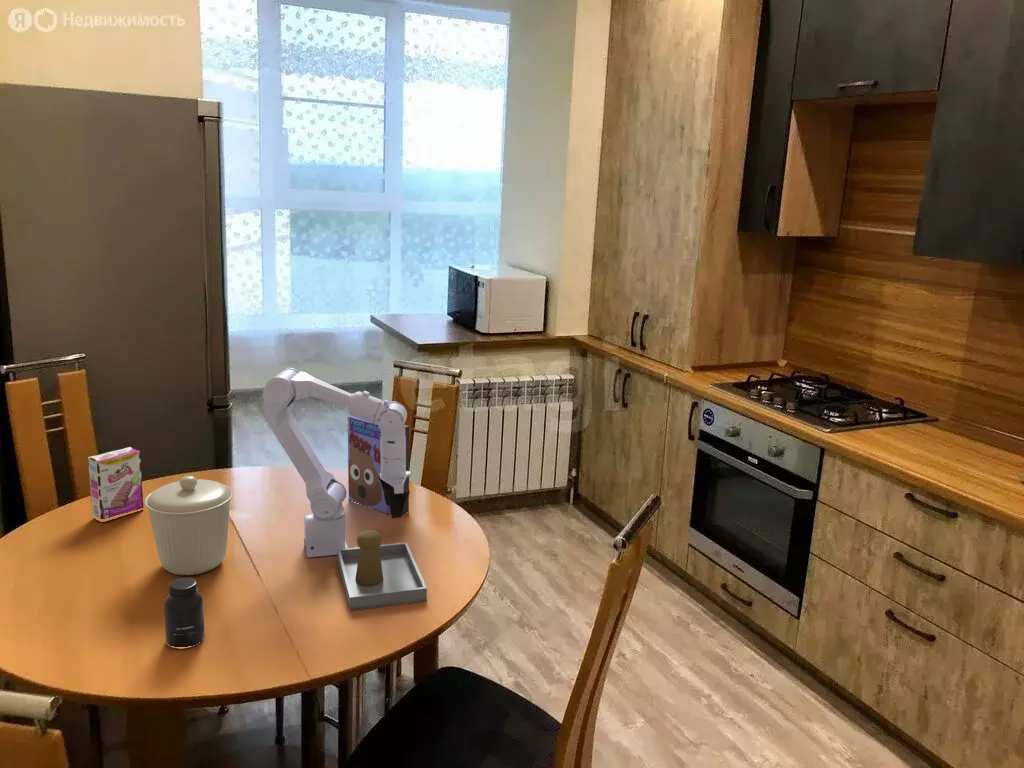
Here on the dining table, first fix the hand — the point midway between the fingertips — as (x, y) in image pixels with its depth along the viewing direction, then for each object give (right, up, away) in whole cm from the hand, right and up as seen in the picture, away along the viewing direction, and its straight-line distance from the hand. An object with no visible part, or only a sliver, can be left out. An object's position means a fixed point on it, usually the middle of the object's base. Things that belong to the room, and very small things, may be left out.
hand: (393, 510), depth 189 cm
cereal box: (-8, -3, +28) cm, 29 cm away
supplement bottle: (-34, -19, -36) cm, 53 cm away
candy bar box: (-72, -4, +16) cm, 74 cm away
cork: (-4, -13, -12) cm, 18 cm away
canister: (-44, -11, -7) cm, 46 cm away
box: (-1, -14, -11) cm, 17 cm away
